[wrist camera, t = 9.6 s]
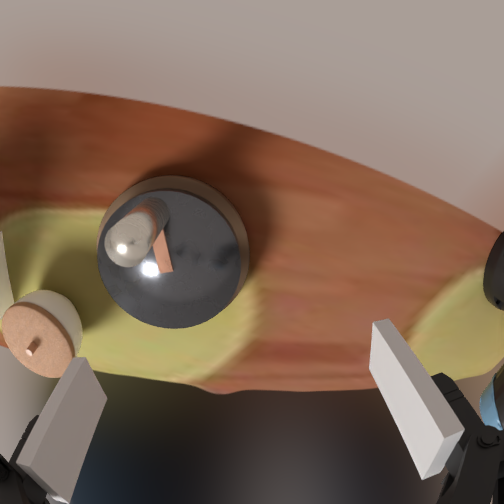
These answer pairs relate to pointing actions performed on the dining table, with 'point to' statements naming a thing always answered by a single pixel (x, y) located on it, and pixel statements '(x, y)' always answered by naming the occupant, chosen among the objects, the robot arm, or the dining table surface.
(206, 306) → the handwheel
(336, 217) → the dining table surface
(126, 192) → the wheel base
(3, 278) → the milk
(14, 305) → the lidded jar
